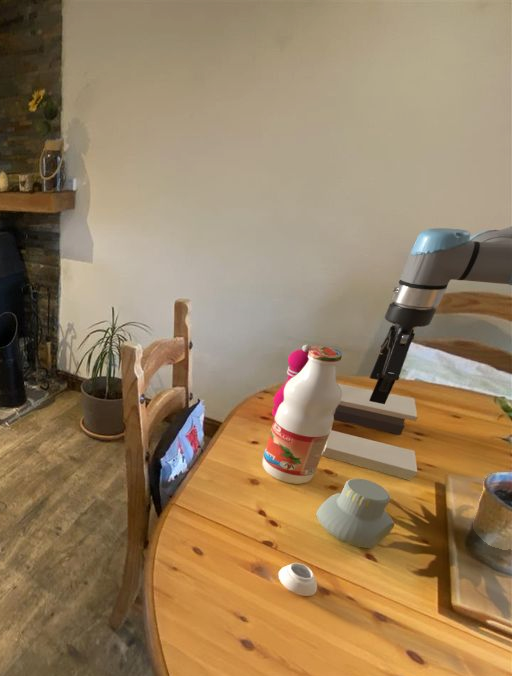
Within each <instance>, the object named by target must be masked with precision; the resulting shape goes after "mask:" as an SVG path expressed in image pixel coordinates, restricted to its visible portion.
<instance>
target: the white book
mask: <svg viewBox="0 0 512 676" xmlns="http://www.w3.org/2000/svg"><path fill="white" fill-rule="evenodd" d="M338 385H339V386H340V388H341V391H342V399H341V402H340V404H339V405H343V406H347V407H352V408H357V409H361V410H366V411H370V412H375V413H380V414H384V415H389V416H393V417H398V418H403V419H405V420H407V421H412V422H416V421H417V420H418V412H417V405H416V399H415V398H414V397H409V396H404V395H399V394H393V393H390V394H389V396H388V398H387V400H386V403H385V404H380V403H376V402H371V401H369V400H370V397H371V395H372V393H373V390H374V389H368V388H363V387H358V386H353V385H348V384H342V383H338Z"/></svg>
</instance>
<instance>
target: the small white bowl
mask: <svg viewBox="0 0 512 676" xmlns="http://www.w3.org/2000/svg"><path fill="white" fill-rule="evenodd" d="M278 579H279V581H280V583H281V584H282V585H283V586H284V587H285V589H287V590H289V591H290V592H292V593H293V594H296V595H298V596H303V597H312V596H313V595H315V594H316V593H317V591H318V583H317V580H316V577H315V575H314V573H313V571H312V569H311V568H310V567H308V566H307V565H305V564H304V563H301V562H292V563H290V564H288V565H287V564H286V566H283V567H281V569H280V570H279V571H278Z"/></svg>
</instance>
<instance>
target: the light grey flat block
mask: <svg viewBox="0 0 512 676" xmlns="http://www.w3.org/2000/svg"><path fill="white" fill-rule="evenodd" d="M321 457H325V458H329V459H332V460H334V461H335V460H336V461H340V462H342V463H346V464H350V465H354V466H358V467H361V468H365V469H367V470H372V471H375V472H379V473H382V474H386V475H390V476H393V477H397V478H400V479H404V480H407V481H413V479H414V477H416V476H417V474H418V465H417V457H416V451H415V450H413V449H409V448H405V447H400V446H397V445H392V444H388V443H384V442H380V441H377V440H372V439H368V438H364V437H360V436H357V435H353V434H352V435H351V434H348V433H344V432H340V431H336V430H332V429H331V432H330V434H329V437H328V439H327V442H326V445H325V447H324V450H323V453H322V455H321Z"/></svg>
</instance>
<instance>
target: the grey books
mask: <svg viewBox="0 0 512 676" xmlns="http://www.w3.org/2000/svg"><path fill="white" fill-rule="evenodd" d="M333 415H334V421H339V422H342V423H343V422H344V423H348V424H352V425H356V426H361V427H365V428H369V429H374V430H377V431H382V432H386V433H390V434H394V435H399V436H401V435H402V433H403V432H404V429H405V427H406V425H405V420H406V419H403V418H398V417H393V416H389V415H384V414H380V413H375V412H370V411H366V410H361V409H357V408H352V407H347V406H343V405H338V407H337V408H336V409H335V410H334V412H333Z"/></svg>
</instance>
